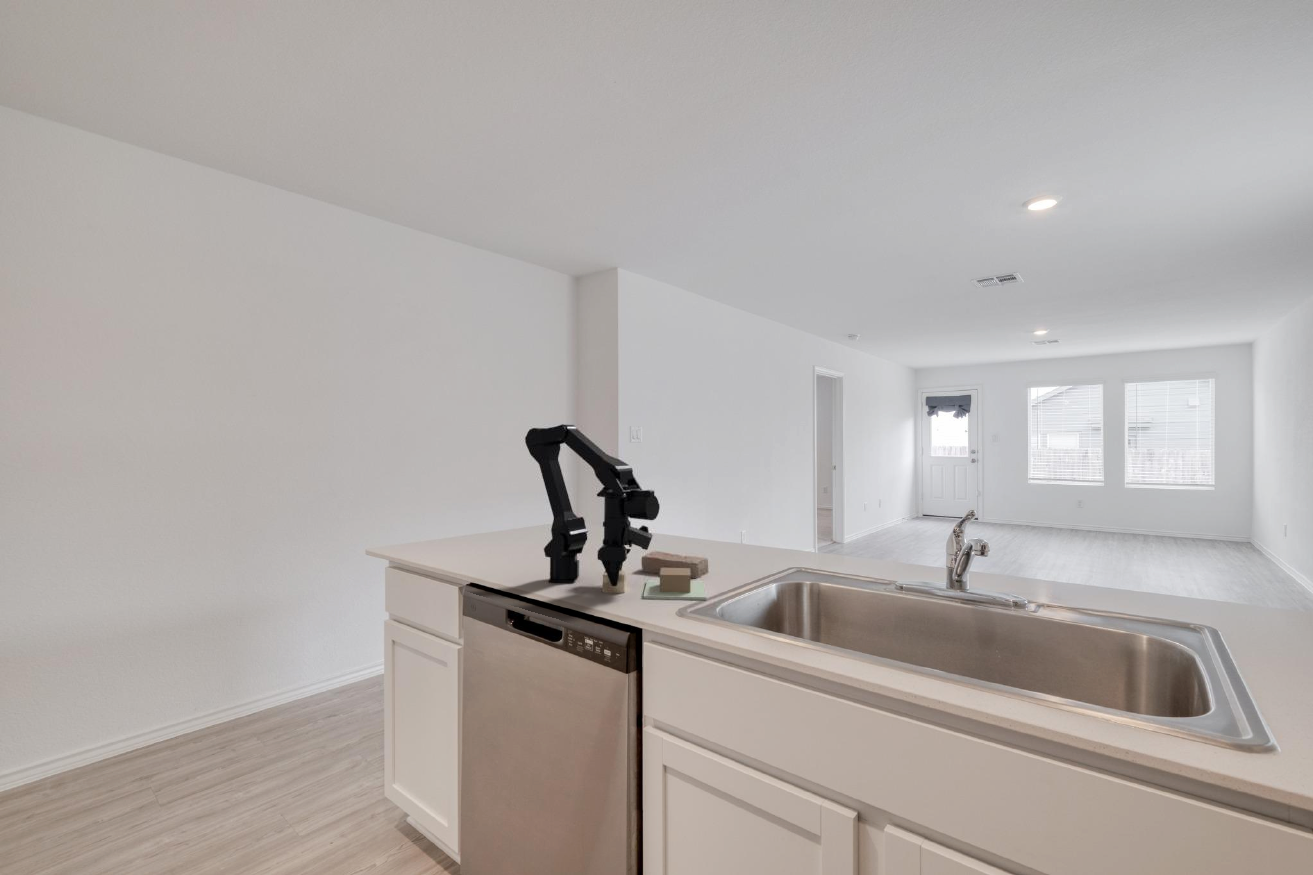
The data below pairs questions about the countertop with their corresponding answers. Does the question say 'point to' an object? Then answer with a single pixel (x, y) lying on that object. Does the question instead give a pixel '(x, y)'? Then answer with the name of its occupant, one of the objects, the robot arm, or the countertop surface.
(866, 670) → the countertop surface
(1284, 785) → the countertop surface
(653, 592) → the baseplate
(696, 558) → the brick
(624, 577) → the maple block
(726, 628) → the countertop surface
